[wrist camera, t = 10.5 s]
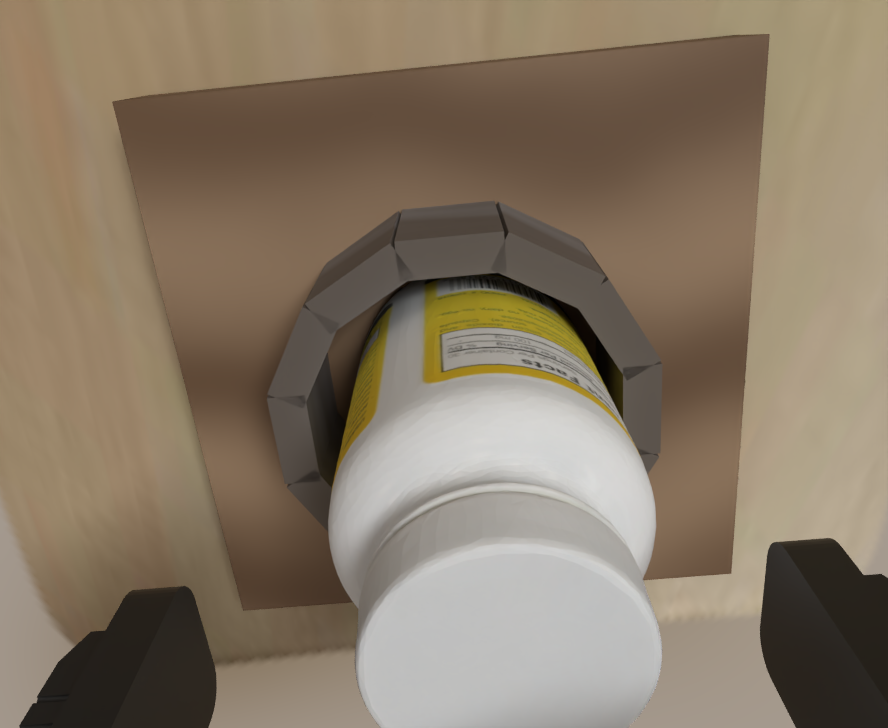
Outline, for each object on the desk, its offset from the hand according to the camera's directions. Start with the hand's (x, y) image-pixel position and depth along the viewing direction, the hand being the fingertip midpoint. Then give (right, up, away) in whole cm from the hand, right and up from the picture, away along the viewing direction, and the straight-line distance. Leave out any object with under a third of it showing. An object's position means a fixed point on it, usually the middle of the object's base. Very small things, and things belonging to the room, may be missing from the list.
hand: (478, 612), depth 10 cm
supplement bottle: (0, +4, +8) cm, 9 cm away
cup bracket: (0, +4, +10) cm, 11 cm away
